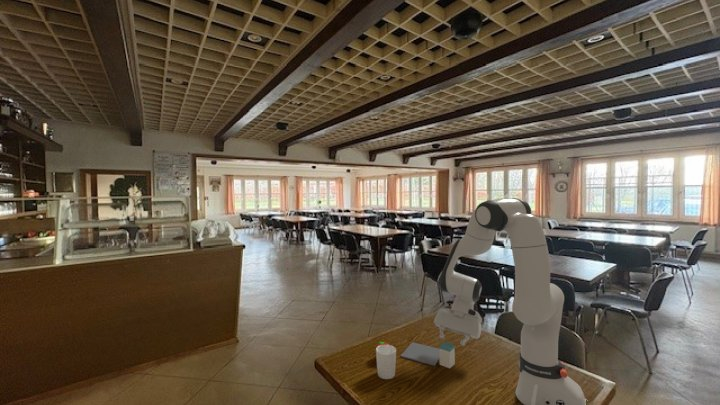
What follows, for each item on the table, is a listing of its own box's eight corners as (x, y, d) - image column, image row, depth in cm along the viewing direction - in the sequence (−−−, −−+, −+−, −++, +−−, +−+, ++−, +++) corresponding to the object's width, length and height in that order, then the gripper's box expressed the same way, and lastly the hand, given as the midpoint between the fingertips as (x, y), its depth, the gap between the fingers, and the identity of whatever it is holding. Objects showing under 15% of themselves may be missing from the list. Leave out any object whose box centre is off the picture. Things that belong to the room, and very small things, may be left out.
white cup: (372, 371, 125) (372, 347, 125) (389, 367, 129) (389, 343, 128) (382, 382, 118) (382, 356, 118) (400, 377, 121) (400, 351, 121)
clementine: (371, 357, 136) (371, 341, 136) (383, 352, 140) (383, 336, 140) (383, 365, 130) (383, 348, 130) (395, 360, 134) (395, 343, 134)
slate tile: (443, 351, 141) (443, 349, 141) (434, 366, 129) (434, 364, 129) (412, 343, 148) (412, 342, 148) (400, 356, 136) (400, 355, 136)
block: (454, 363, 131) (454, 344, 130) (449, 368, 127) (449, 349, 127) (444, 360, 134) (444, 341, 133) (439, 364, 130) (439, 345, 130)
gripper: (437, 302, 145) (426, 330, 138) (482, 314, 132) (472, 345, 125) (442, 309, 149) (431, 337, 142) (485, 321, 135) (476, 352, 128)
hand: (451, 341), depth 133 cm, fingers open, 8 cm apart
